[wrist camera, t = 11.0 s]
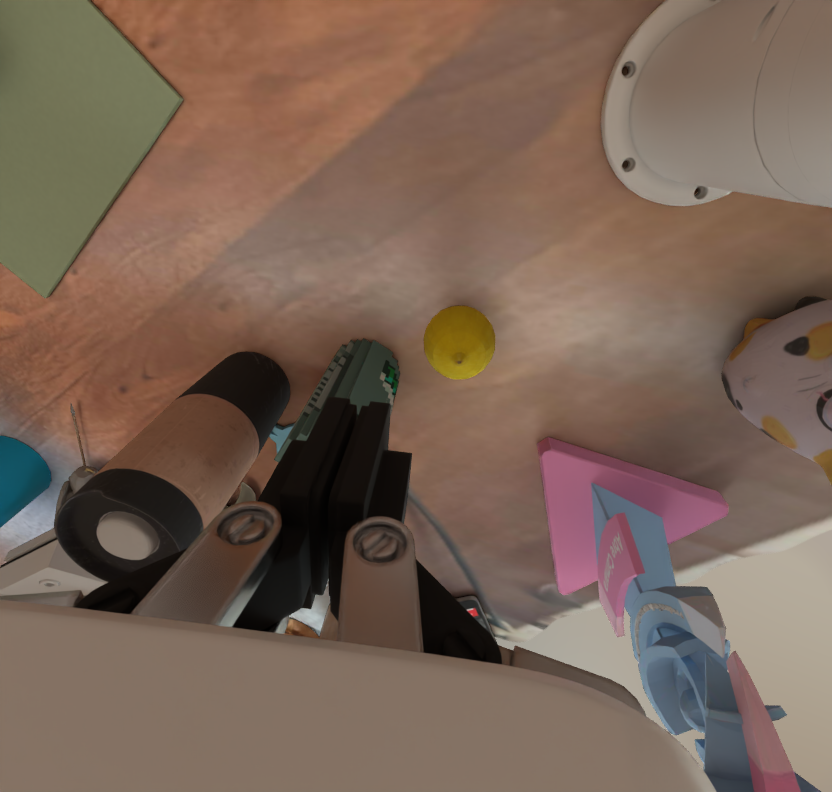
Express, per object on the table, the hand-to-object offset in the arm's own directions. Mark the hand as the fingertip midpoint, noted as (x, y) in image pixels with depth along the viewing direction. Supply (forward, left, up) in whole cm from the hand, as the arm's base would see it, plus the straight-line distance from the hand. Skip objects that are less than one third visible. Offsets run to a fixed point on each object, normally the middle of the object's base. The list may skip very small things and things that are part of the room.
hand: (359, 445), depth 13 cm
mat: (+17, -28, -27) cm, 43 cm away
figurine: (-17, +28, -27) cm, 43 cm away
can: (+11, +5, -27) cm, 30 cm away
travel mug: (+21, -1, -27) cm, 34 cm away
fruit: (+2, +7, -27) cm, 28 cm away
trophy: (+5, +31, -27) cm, 42 cm away
